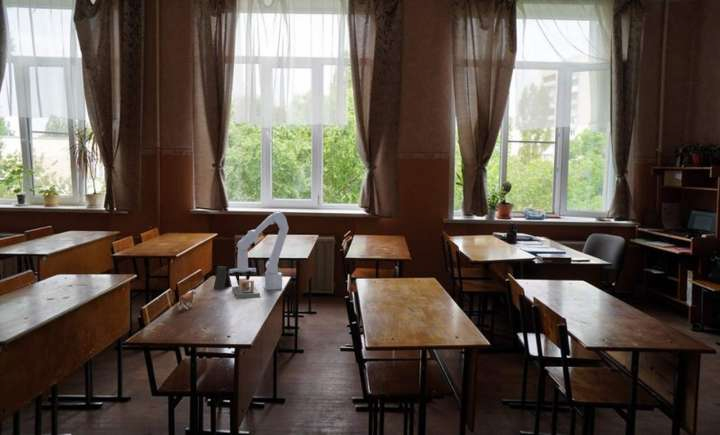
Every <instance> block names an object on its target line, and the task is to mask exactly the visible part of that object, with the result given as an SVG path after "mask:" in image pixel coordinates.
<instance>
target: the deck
mask: <svg viewBox="0 0 720 435" xmlns="http://www.w3.org/2000/svg"><path fill="white" fill-rule="evenodd" d="M231 290H232V292H233V294H234V296H235V297H236V298H237V299H245V298H246V299H247V298H249V299H250V298H260V297H261V292H260V291H259V290H258V289H257V288H256V286H254V291H251V285H249V289H245V290H242V291H239V286H238V285H237V286H231Z"/></svg>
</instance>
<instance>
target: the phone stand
mask: <svg viewBox="0 0 720 435" xmlns="http://www.w3.org/2000/svg"><path fill="white" fill-rule="evenodd" d="M215 275H216V276H215V279H214V283H213V284H214V285H213V289H218V290H224V289H228V288H232V287H233V286H232V285H233V284H232V280H231V276H230V273H229V267H228V266H223V265H219V266H218V265H217V267H216V274H215Z"/></svg>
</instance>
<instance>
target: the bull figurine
mask: <svg viewBox="0 0 720 435" xmlns="http://www.w3.org/2000/svg"><path fill="white" fill-rule="evenodd" d="M195 296H198V292H197V291H196V290H195V289H192V290H191V289H190V290H189V291H188V292H185V294H182V295H181V296H179V298H178V301H179V306H178V307H179V308H178V309H179V311H182V306H183V308H184V309H185V310H189V308H192V307H193V306H192V303H193V299H194V297H195ZM188 307H189V308H188Z"/></svg>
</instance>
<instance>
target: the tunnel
mask: <svg viewBox="0 0 720 435" xmlns="http://www.w3.org/2000/svg"><path fill="white" fill-rule="evenodd" d="M242 283H249V284H250V286H251V291H254V287H255V281H254V280H253V279H249V280H239V291H242Z"/></svg>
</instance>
